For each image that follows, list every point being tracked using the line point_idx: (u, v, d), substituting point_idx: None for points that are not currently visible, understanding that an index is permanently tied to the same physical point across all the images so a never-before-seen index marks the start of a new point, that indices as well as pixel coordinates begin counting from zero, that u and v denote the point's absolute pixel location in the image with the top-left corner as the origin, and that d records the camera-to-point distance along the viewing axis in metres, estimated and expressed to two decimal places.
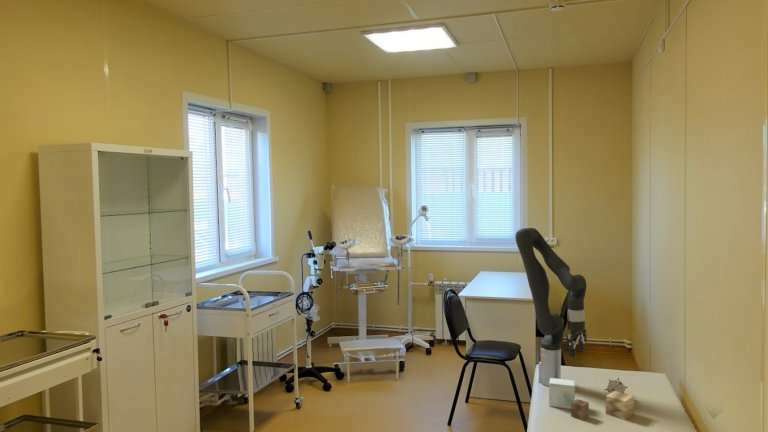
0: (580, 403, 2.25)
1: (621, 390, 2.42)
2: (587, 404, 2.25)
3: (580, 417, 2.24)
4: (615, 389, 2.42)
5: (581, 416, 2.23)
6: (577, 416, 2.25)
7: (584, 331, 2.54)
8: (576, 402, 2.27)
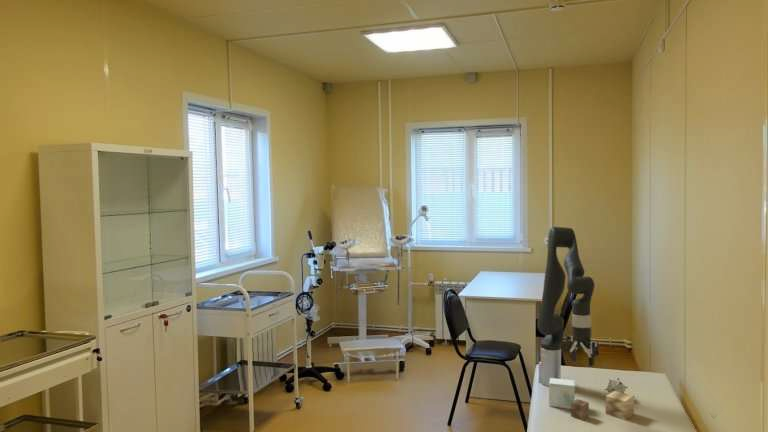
0: (580, 403, 2.25)
1: (621, 390, 2.42)
2: (587, 404, 2.25)
3: (580, 417, 2.24)
4: (615, 389, 2.42)
5: (581, 416, 2.23)
6: (577, 416, 2.25)
7: None
8: (576, 402, 2.27)
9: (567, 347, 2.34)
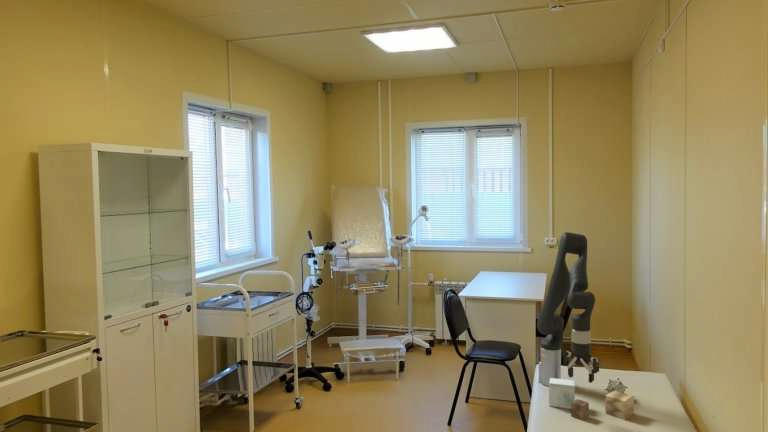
0: (580, 403, 2.25)
1: (621, 390, 2.42)
2: (587, 404, 2.25)
3: (580, 417, 2.24)
4: (615, 389, 2.42)
5: (581, 416, 2.23)
6: (577, 416, 2.25)
7: None
8: (576, 402, 2.27)
9: (564, 363, 2.29)
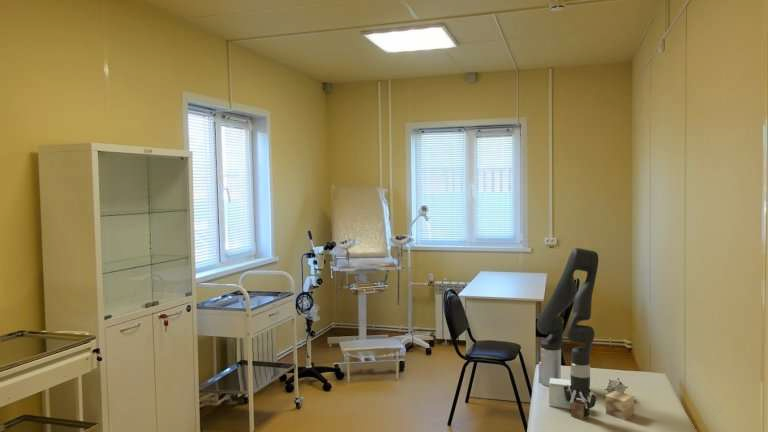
0: (580, 403, 2.25)
1: (621, 390, 2.42)
2: None
3: (580, 417, 2.24)
4: (615, 389, 2.42)
5: (581, 416, 2.23)
6: (577, 416, 2.25)
7: None
8: (576, 401, 2.27)
9: (567, 398, 2.29)
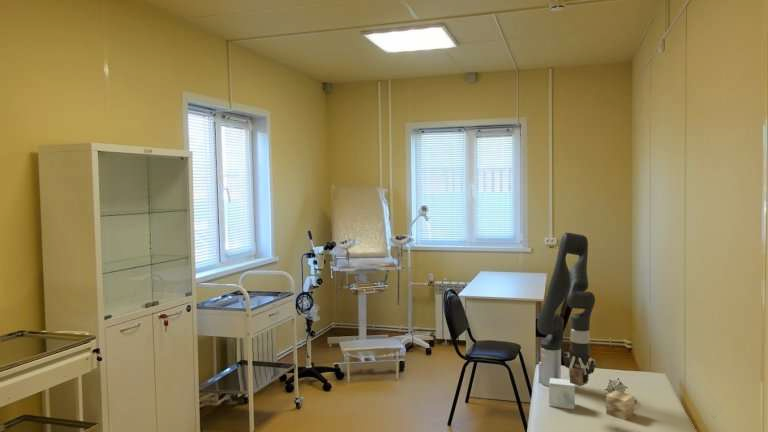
0: (579, 369, 2.24)
1: (621, 390, 2.42)
2: None
3: (579, 383, 2.23)
4: (615, 389, 2.42)
5: (580, 382, 2.22)
6: (576, 382, 2.24)
7: None
8: (575, 368, 2.26)
9: (566, 365, 2.28)
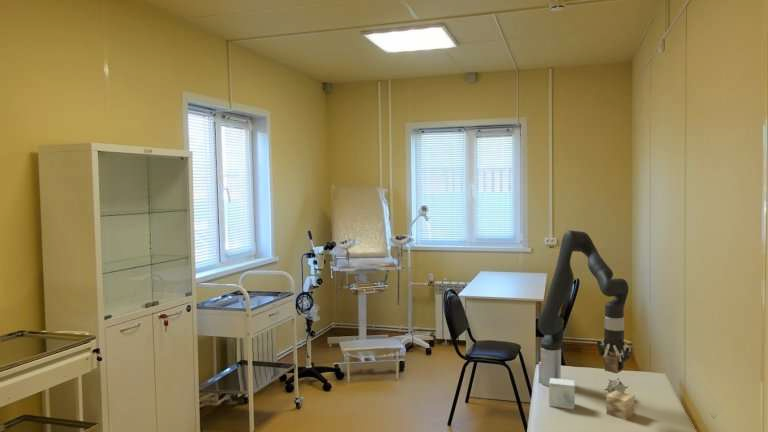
0: (614, 357, 2.25)
1: (621, 390, 2.42)
2: None
3: (614, 371, 2.24)
4: (615, 389, 2.42)
5: (615, 370, 2.23)
6: (611, 369, 2.25)
7: None
8: (609, 355, 2.27)
9: (600, 353, 2.29)
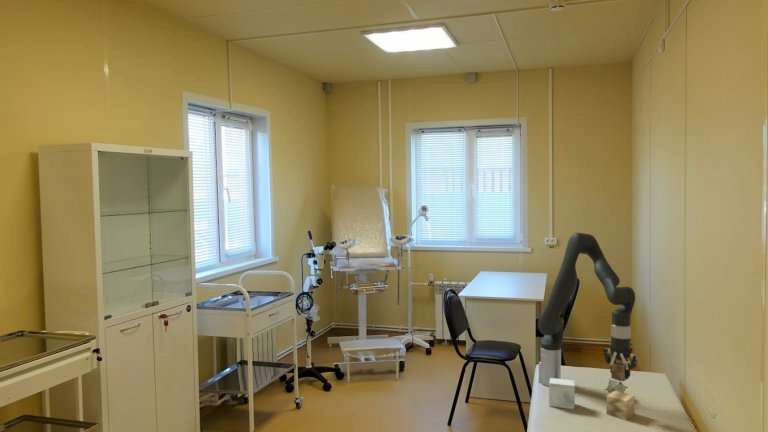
0: (621, 364, 2.26)
1: (621, 390, 2.42)
2: None
3: (621, 379, 2.25)
4: (615, 389, 2.42)
5: (622, 378, 2.24)
6: (618, 377, 2.25)
7: None
8: (616, 363, 2.27)
9: (607, 360, 2.30)
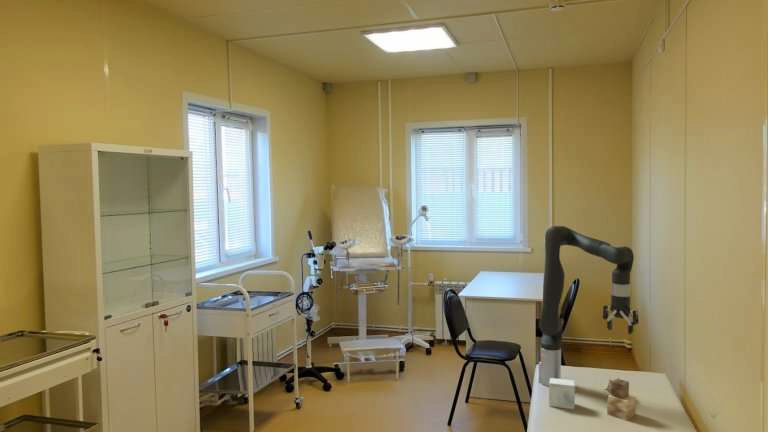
0: (620, 382, 2.26)
1: None
2: (627, 383, 2.27)
3: (620, 396, 2.25)
4: None
5: (621, 395, 2.25)
6: (617, 395, 2.26)
7: None
8: (616, 381, 2.28)
9: (604, 316, 2.38)
